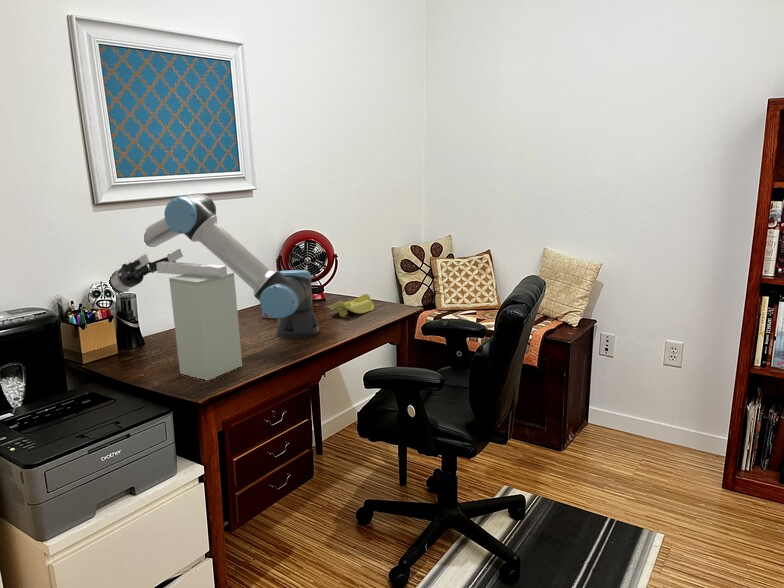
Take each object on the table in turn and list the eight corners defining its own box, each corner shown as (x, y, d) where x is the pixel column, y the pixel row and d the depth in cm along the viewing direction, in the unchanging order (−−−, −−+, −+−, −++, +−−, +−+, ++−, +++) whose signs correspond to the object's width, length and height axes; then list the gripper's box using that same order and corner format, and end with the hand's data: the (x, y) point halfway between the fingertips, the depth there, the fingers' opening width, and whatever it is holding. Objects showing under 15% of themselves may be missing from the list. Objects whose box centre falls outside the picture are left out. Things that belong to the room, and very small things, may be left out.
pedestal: (180, 374, 189) (169, 278, 182) (215, 360, 201) (206, 269, 194) (207, 381, 183) (197, 282, 176) (242, 366, 195) (233, 272, 187)
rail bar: (157, 272, 190) (156, 263, 189) (164, 270, 193) (163, 261, 192) (220, 277, 181) (219, 267, 180) (227, 275, 183) (226, 265, 182)
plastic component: (351, 300, 263) (369, 292, 257) (358, 316, 262) (376, 308, 257) (323, 308, 246) (342, 299, 241) (330, 325, 245) (349, 317, 240)
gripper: (161, 281, 225) (197, 260, 214) (99, 294, 204) (136, 272, 193) (153, 261, 225) (189, 240, 214) (90, 272, 204) (127, 249, 193)
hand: (164, 255), depth 203 cm, fingers open, 13 cm apart
